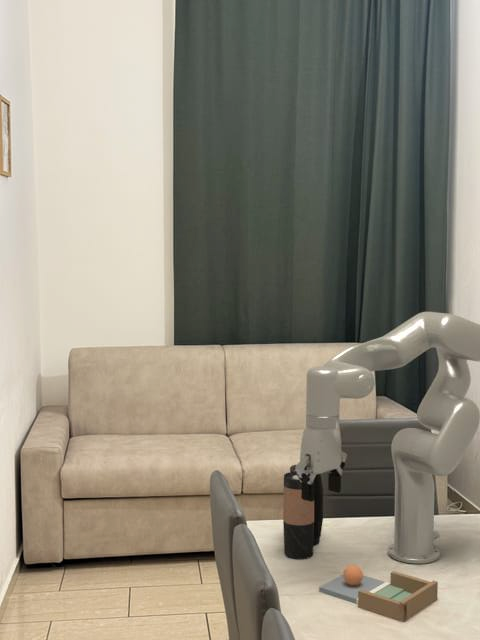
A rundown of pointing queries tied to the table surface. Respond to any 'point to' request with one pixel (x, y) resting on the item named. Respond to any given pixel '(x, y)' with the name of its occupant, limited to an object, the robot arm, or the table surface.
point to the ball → (353, 575)
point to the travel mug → (297, 520)
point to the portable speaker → (316, 505)
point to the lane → (386, 594)
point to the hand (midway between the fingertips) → (321, 495)
